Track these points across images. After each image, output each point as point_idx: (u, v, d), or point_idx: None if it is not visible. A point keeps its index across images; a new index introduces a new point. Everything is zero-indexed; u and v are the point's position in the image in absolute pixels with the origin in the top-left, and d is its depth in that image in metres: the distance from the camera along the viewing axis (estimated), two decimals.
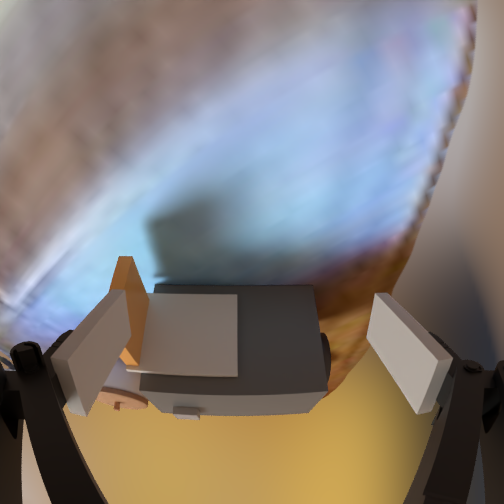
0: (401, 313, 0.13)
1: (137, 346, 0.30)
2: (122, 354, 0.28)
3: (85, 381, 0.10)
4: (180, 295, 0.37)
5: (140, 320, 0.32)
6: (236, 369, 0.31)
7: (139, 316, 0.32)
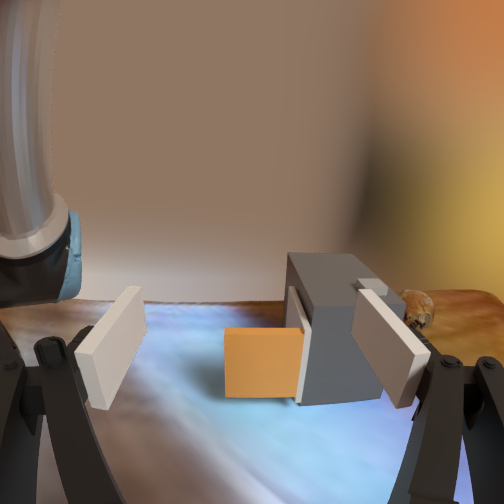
0: (382, 308, 0.14)
1: None
2: (274, 332, 0.31)
3: (107, 375, 0.10)
4: None
5: None
6: None
7: None
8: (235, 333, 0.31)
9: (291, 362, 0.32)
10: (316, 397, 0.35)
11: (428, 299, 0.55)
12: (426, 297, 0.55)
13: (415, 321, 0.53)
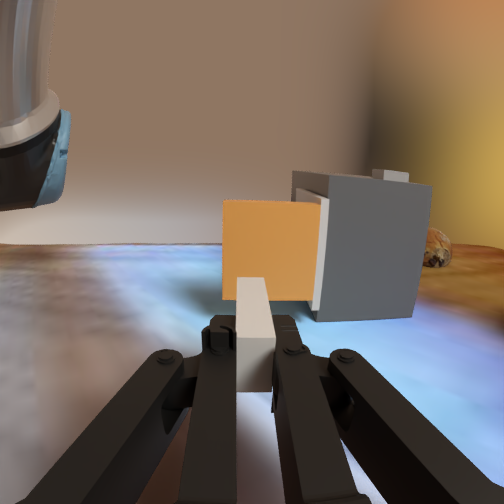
0: (259, 295, 0.15)
1: None
2: (283, 202, 0.26)
3: None
4: None
5: None
6: (296, 193, 0.37)
7: None
8: (237, 201, 0.25)
9: (306, 245, 0.26)
10: (337, 309, 0.30)
11: (444, 236, 0.49)
12: (442, 234, 0.50)
13: (433, 257, 0.48)
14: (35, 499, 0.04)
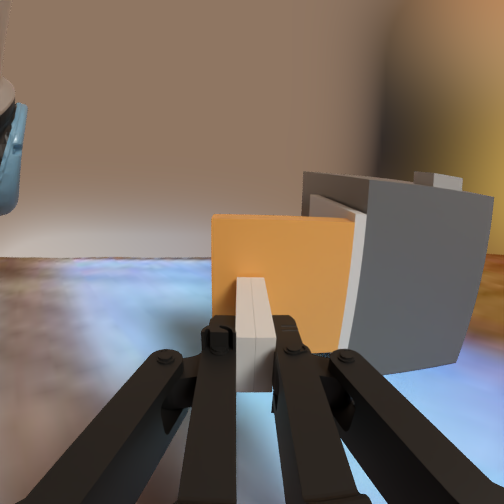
0: (259, 295, 0.15)
1: None
2: (301, 218, 0.18)
3: None
4: None
5: None
6: (310, 200, 0.29)
7: None
8: (232, 217, 0.17)
9: (332, 279, 0.18)
10: (369, 362, 0.21)
11: None
12: None
13: None
14: (35, 499, 0.04)
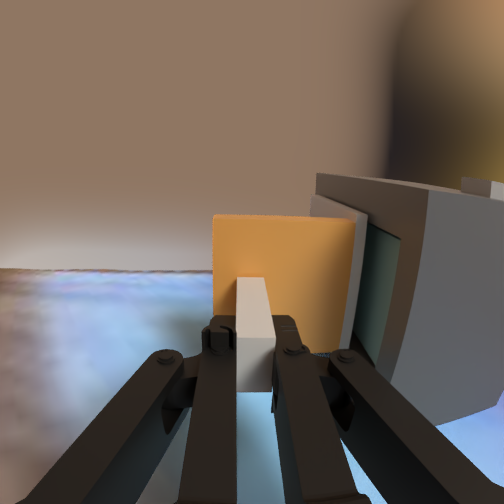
0: (259, 295, 0.15)
1: None
2: (302, 218, 0.18)
3: None
4: None
5: None
6: None
7: None
8: (234, 217, 0.17)
9: (333, 280, 0.18)
10: None
11: None
12: None
13: None
14: (35, 499, 0.04)
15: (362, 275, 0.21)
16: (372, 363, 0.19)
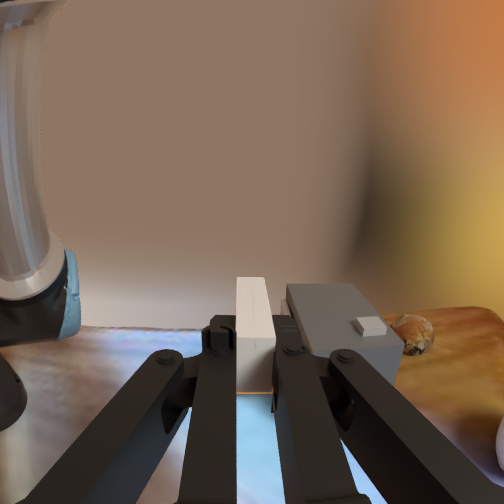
0: (259, 295, 0.15)
1: None
2: None
3: None
4: None
5: None
6: None
7: None
8: None
9: None
10: None
11: (428, 324, 0.54)
12: (426, 322, 0.54)
13: (414, 347, 0.52)
14: (35, 499, 0.04)
15: None
16: None
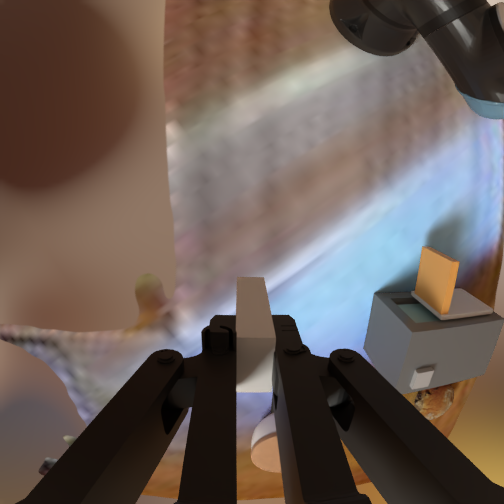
0: (259, 295, 0.15)
1: None
2: (448, 295, 0.38)
3: None
4: None
5: None
6: (491, 308, 0.40)
7: None
8: (452, 269, 0.37)
9: (430, 299, 0.42)
10: (375, 306, 0.49)
11: (431, 417, 0.54)
12: (433, 416, 0.54)
13: (421, 398, 0.56)
14: (35, 499, 0.04)
15: None
16: (402, 304, 0.48)
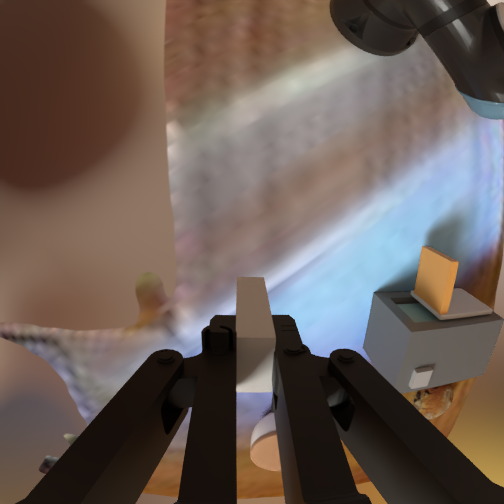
0: (259, 295, 0.15)
1: None
2: (447, 294, 0.38)
3: None
4: None
5: None
6: (490, 308, 0.40)
7: None
8: (451, 269, 0.37)
9: (429, 298, 0.42)
10: (374, 306, 0.50)
11: (430, 416, 0.54)
12: (432, 416, 0.54)
13: (420, 397, 0.56)
14: (35, 499, 0.04)
15: None
16: None
